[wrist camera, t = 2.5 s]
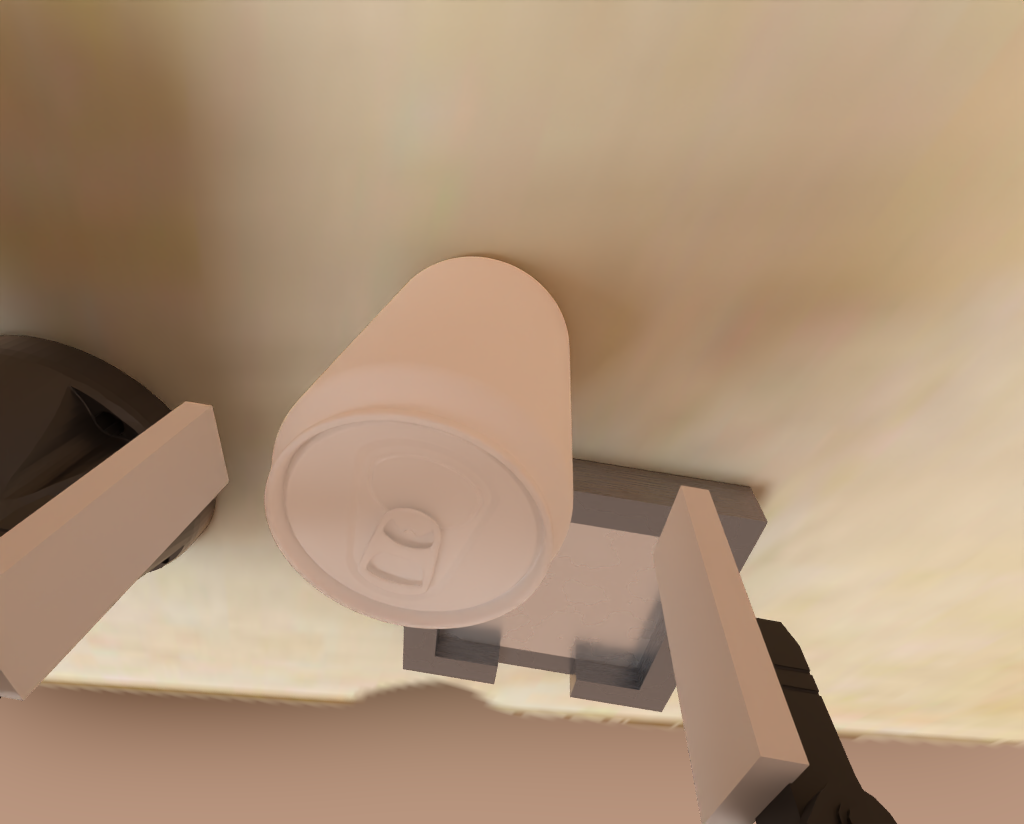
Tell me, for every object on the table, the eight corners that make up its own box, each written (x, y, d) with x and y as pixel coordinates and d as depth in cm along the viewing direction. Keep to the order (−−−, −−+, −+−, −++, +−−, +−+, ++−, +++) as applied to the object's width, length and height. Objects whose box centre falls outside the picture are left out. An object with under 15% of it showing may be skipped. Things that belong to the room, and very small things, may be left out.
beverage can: (600, 294, 21) (636, 473, 10) (530, 440, 25) (506, 670, 14) (416, 221, 20) (256, 336, 9) (375, 385, 24) (234, 588, 14)
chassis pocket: (413, 634, 34) (402, 669, 32) (421, 434, 25) (407, 463, 23) (655, 674, 34) (661, 712, 32) (750, 487, 25) (767, 521, 23)
